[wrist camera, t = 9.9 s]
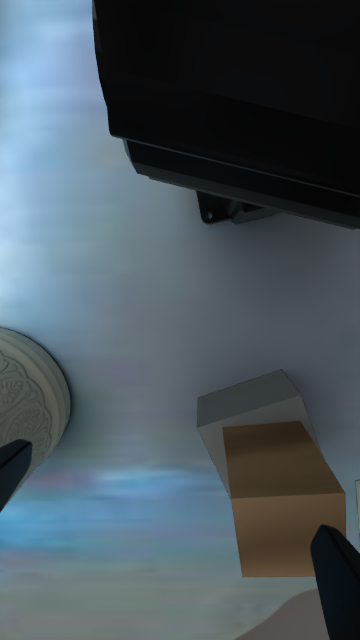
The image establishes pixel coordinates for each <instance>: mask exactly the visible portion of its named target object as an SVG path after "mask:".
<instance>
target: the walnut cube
mask: <svg viewBox="0 0 360 640" xmlns="http://www.w3.org/2000/svg"><path fill="white" fill-rule="evenodd" d="M222 431H223V439H224V447H225V455H226V463H227V471H228V479H229V487H230V495H231V502H232V509H233V516H234V523H235V530H236V537H237V543H238V550H239V557H240V564H241V571H242V577H315V572H314V567H313V562H312V558H311V552H310V544H311V541H312V539H313V537H314V535H315V534H316V532H317V530H318V528H319V526H320V525H322V524H325V525H328V526H332V527H335V528H337V529H338V530H339V531H340V532H341V533H342V534H343V535H344V537H345V538H346V502H345V492H344V490H343V488H342V487H341V485H340V484H339V482H338V480H337V479H336V477H335V476H334V474H333V472H332V471H331V469H330V468H329V466H328V464H327V463H326V461H325V460H324V458H323V456H322V455H321V453H320V452H319V450H318V448H317V447H316V445H315V444H314V442H313V440H312V439H311V437H310V436H309V434H308V432H307V431H306V429H305V428H304V426H303V424H302V423H301V421H291V422H280V423H268V424H256V425H244V426H232V427H222Z"/></svg>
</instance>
